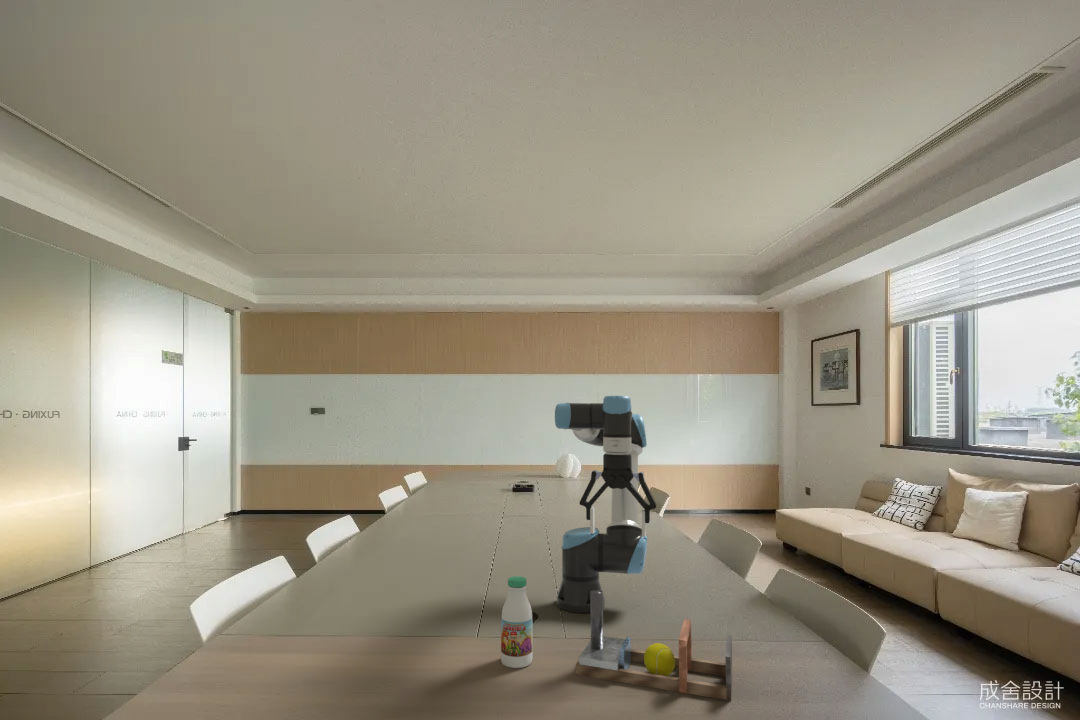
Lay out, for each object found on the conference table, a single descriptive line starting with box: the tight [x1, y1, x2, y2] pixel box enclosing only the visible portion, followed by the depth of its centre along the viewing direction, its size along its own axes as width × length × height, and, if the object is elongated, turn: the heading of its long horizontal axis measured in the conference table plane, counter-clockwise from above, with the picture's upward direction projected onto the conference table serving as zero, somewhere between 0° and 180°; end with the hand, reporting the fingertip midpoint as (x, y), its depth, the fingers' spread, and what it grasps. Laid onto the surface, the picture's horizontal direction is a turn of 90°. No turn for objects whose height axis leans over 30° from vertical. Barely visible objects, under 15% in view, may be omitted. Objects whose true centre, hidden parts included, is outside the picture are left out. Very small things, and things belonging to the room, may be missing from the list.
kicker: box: [578, 590, 632, 670], centre depth 138 cm, size 10×14×17 cm
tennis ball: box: [643, 642, 675, 676], centre depth 133 cm, size 7×7×7 cm
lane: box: [575, 619, 733, 701], centre depth 133 cm, size 34×13×11 cm, turn 70°
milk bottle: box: [500, 575, 533, 669], centre depth 140 cm, size 8×8×20 cm
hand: (617, 534), depth 150 cm, fingers open, 13 cm apart
